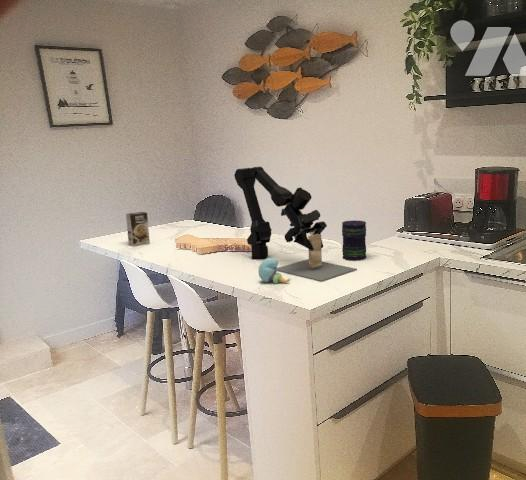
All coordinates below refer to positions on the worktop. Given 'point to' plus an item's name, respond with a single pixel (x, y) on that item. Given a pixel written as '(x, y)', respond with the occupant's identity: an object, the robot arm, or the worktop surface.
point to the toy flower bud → (270, 271)
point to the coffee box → (137, 228)
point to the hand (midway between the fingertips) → (317, 248)
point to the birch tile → (315, 250)
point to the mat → (316, 270)
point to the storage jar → (354, 240)
